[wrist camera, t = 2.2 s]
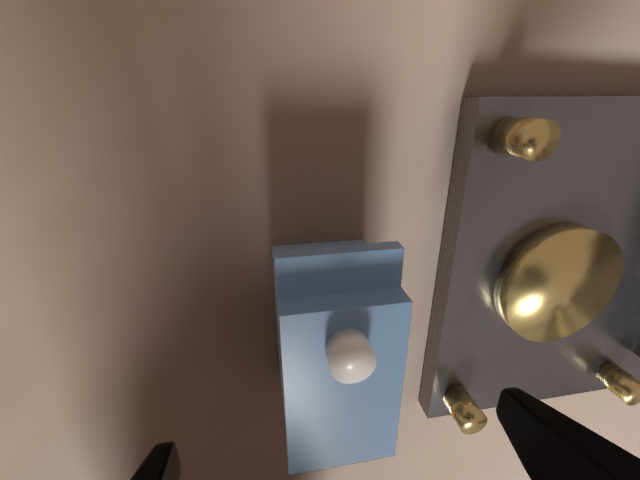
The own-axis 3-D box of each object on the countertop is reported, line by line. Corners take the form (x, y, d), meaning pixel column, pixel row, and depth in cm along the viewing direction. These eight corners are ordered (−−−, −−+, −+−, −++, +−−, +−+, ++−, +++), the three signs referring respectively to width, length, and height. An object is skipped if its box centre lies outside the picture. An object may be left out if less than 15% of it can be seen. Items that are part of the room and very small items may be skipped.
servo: (367, 379, 16) (415, 498, 11) (281, 391, 15) (292, 523, 10) (378, 207, 13) (453, 272, 8) (269, 214, 12) (278, 288, 7)
